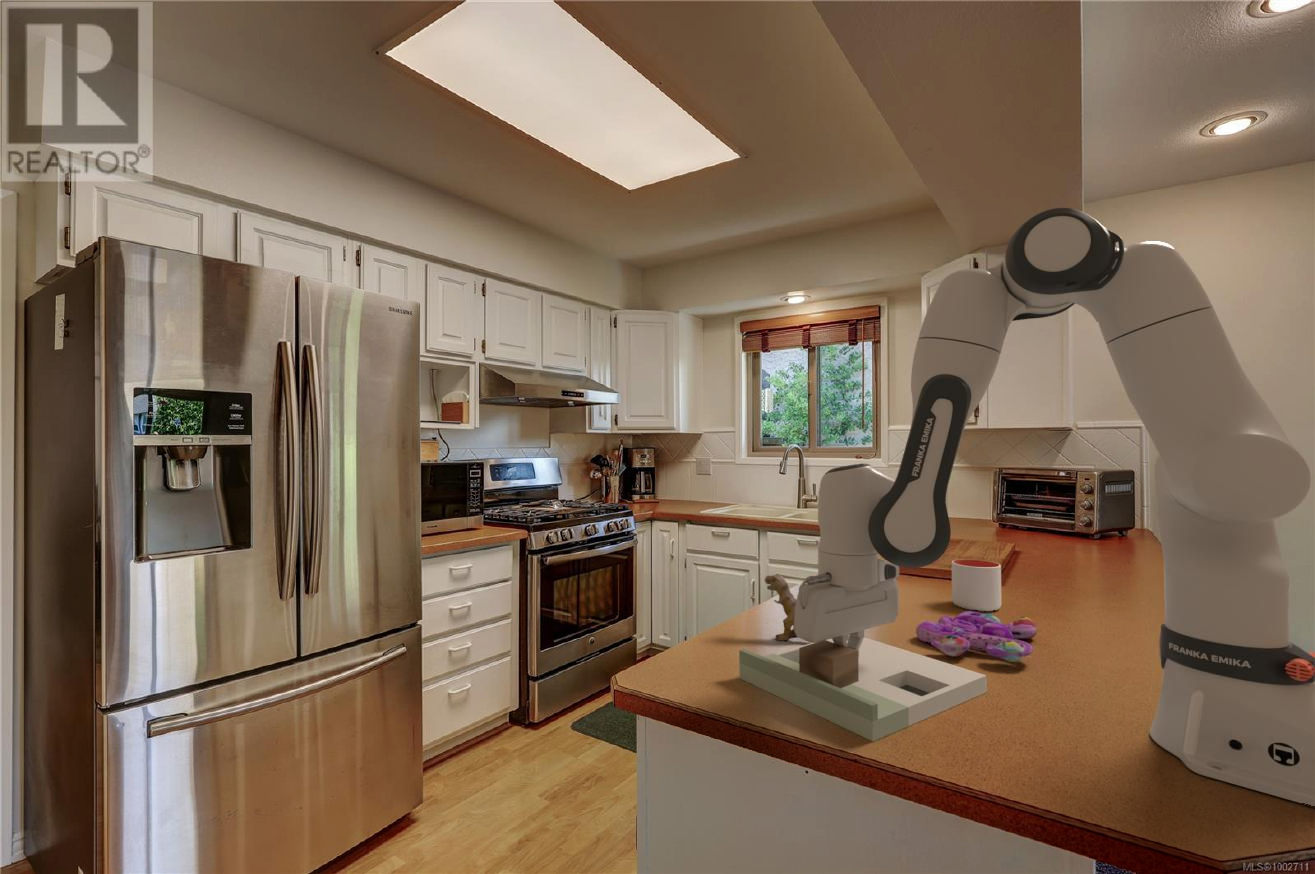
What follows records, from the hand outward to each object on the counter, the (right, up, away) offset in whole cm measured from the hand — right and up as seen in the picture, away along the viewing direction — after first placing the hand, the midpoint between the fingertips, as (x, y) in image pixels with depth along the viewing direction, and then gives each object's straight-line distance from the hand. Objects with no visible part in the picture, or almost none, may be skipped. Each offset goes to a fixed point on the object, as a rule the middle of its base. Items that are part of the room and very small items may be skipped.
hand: (848, 660), depth 93 cm
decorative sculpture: (+31, -5, +20) cm, 38 cm away
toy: (-2, -5, +23) cm, 23 cm away
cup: (+44, -5, +46) cm, 63 cm away
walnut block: (-4, -2, -3) cm, 5 cm away
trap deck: (+2, -4, +1) cm, 5 cm away
